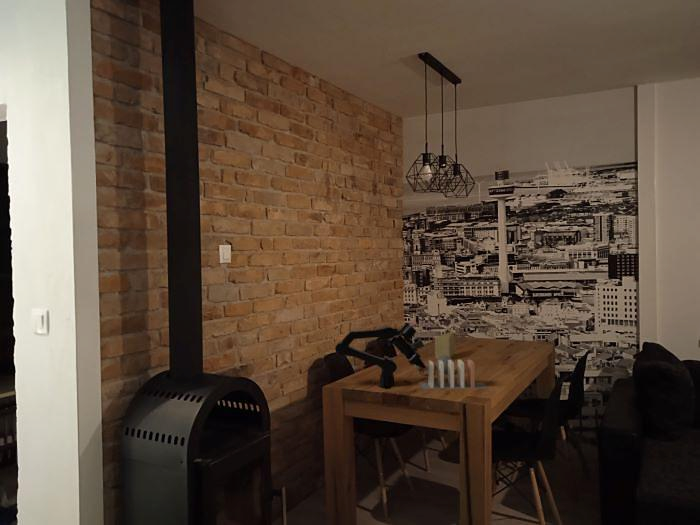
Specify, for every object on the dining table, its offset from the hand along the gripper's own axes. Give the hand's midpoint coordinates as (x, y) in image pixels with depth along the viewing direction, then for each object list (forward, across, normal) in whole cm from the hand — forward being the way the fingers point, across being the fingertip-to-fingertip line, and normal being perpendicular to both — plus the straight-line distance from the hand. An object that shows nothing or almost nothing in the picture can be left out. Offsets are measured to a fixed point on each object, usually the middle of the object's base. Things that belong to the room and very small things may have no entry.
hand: (425, 367), depth 286 cm
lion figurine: (+9, +25, +5) cm, 27 cm away
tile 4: (+19, 0, -6) cm, 20 cm away
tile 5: (+22, 0, -10) cm, 25 cm away
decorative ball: (+17, +31, -3) cm, 35 cm away
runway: (+17, 0, -3) cm, 17 cm away
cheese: (+23, +80, -9) cm, 84 cm away
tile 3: (+15, 0, -3) cm, 16 cm away
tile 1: (+8, 0, +4) cm, 9 cm away
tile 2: (+12, 0, +1) cm, 12 cm away
